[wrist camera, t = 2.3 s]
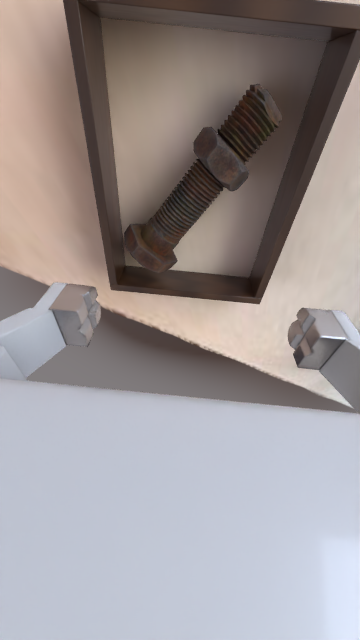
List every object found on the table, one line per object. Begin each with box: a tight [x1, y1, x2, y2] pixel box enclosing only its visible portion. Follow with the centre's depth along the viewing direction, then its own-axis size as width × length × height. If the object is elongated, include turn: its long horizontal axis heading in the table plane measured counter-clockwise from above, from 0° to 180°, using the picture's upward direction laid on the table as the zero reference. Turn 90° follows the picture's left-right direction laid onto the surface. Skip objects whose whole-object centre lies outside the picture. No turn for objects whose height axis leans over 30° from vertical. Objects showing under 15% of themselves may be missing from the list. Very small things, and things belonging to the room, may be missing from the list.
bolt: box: [124, 84, 282, 273], centre depth 20 cm, size 6×5×15 cm
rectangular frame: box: [63, 0, 360, 304], centre depth 20 cm, size 17×20×4 cm
